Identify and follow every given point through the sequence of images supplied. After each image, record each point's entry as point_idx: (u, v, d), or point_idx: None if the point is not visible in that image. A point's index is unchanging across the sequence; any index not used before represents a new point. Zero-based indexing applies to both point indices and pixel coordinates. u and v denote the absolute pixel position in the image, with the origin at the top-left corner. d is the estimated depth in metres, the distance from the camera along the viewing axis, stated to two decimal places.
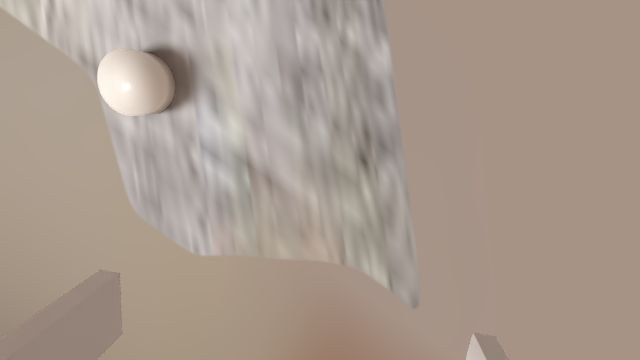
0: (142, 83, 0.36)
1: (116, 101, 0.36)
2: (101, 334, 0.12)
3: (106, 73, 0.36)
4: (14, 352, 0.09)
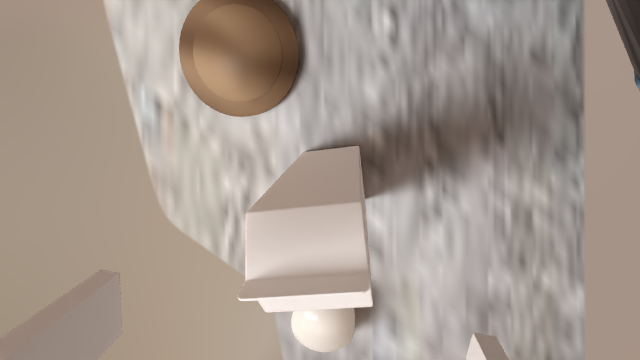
0: (338, 326, 0.36)
1: (308, 339, 0.37)
2: (101, 334, 0.12)
3: (301, 316, 0.36)
4: (14, 352, 0.09)
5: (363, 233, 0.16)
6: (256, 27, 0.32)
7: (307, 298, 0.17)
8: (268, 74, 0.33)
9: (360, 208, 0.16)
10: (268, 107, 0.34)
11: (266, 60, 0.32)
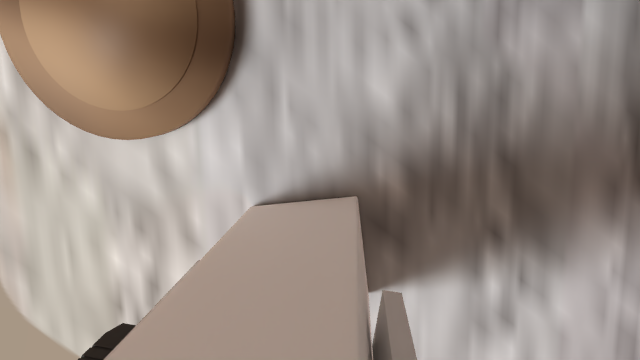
0: None
1: None
2: None
3: None
4: None
5: None
6: None
7: None
8: (172, 55, 0.16)
9: None
10: (177, 122, 0.17)
11: (165, 26, 0.16)
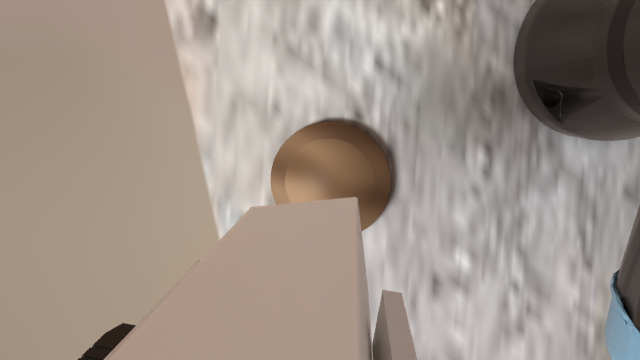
0: None
1: None
2: None
3: None
4: None
5: None
6: (350, 159, 0.32)
7: None
8: (360, 202, 0.33)
9: None
10: None
11: (359, 189, 0.33)
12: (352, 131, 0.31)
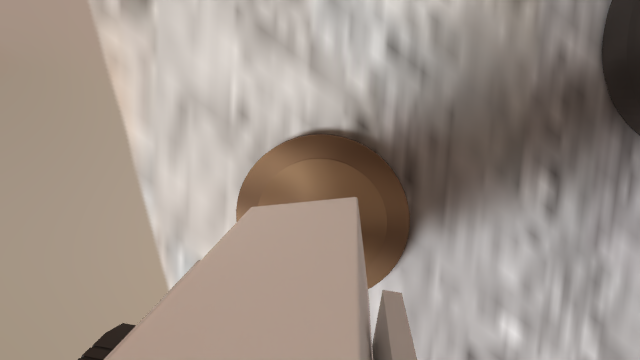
0: None
1: None
2: None
3: None
4: None
5: None
6: (350, 189, 0.22)
7: None
8: (364, 249, 0.23)
9: None
10: None
11: (363, 232, 0.23)
12: (353, 149, 0.21)
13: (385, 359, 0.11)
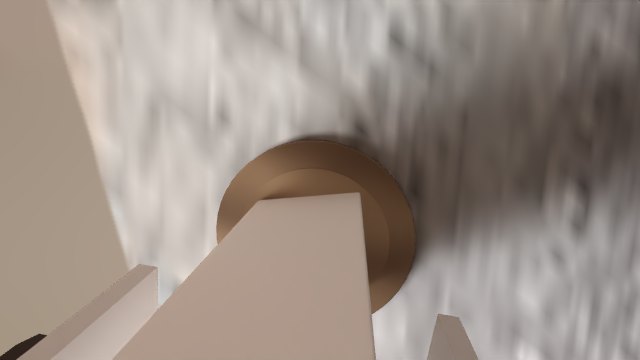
0: None
1: None
2: (141, 325, 0.12)
3: None
4: (75, 338, 0.09)
5: None
6: None
7: None
8: None
9: None
10: None
11: None
12: (350, 157, 0.18)
13: None
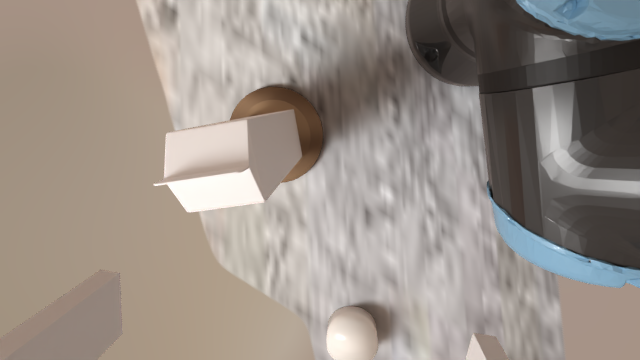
0: (363, 341, 0.45)
1: (346, 359, 0.46)
2: (101, 334, 0.12)
3: (333, 343, 0.45)
4: (14, 352, 0.09)
5: (247, 140, 0.22)
6: None
7: (213, 195, 0.23)
8: None
9: (246, 123, 0.22)
10: (300, 175, 0.42)
11: None
12: (288, 93, 0.40)
13: None
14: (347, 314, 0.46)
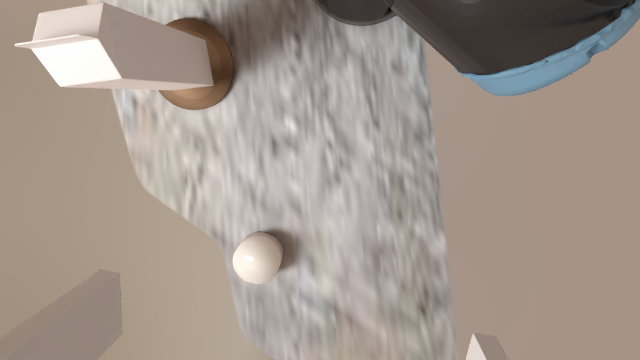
0: (265, 259, 0.49)
1: (252, 277, 0.50)
2: (101, 334, 0.12)
3: (239, 263, 0.50)
4: (14, 352, 0.09)
5: (100, 17, 0.26)
6: None
7: (76, 67, 0.27)
8: None
9: (102, 5, 0.26)
10: (212, 103, 0.47)
11: None
12: (201, 24, 0.44)
13: None
14: (252, 237, 0.50)
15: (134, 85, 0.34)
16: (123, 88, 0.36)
